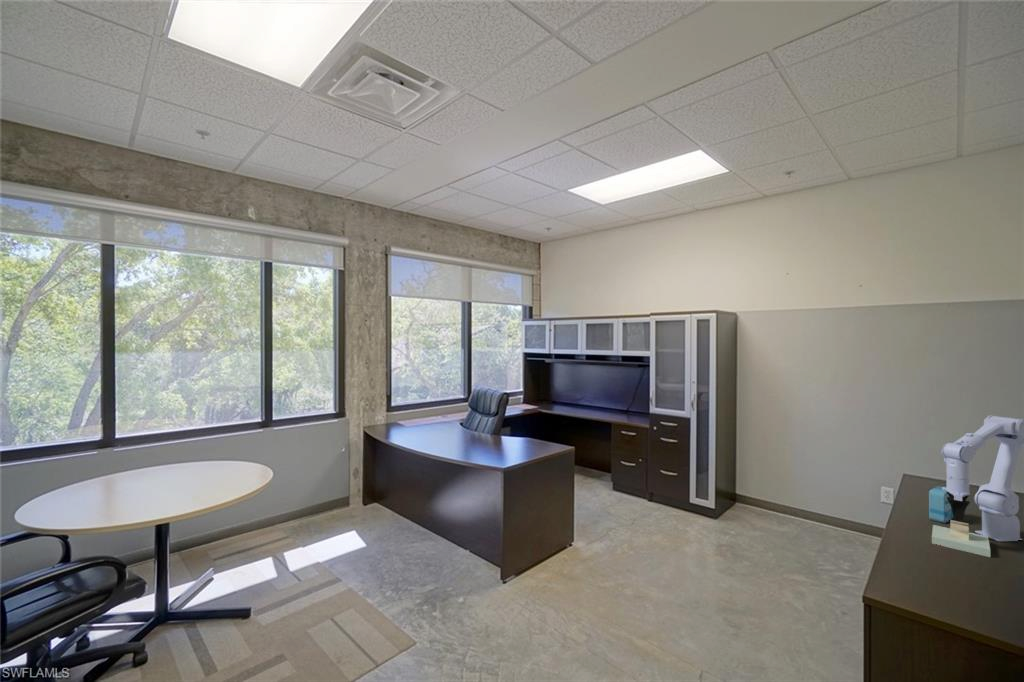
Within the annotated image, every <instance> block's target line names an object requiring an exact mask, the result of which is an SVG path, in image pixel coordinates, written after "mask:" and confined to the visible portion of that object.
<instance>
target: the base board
mask: <svg viewBox="0 0 1024 682" xmlns="http://www.w3.org/2000/svg"><path fill="white" fill-rule="evenodd" d="M989 540H990V538H989V537H988V536H984V535H981V534H978V533H975V532H974V533H973V532H969V540H964V539H960V538H955V537H951V536H950V527H945V526H940V525H935V524H933V525H932V533H931V544H933V545H936V544H937V546H940V545H941V547H945V548H950V549H953V550H958V551H961V552H966V553H970V554H975V555H979V556H983V557H988V558H991V546H990V541H989Z"/></svg>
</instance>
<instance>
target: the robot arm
mask: <svg viewBox="0 0 1024 682" xmlns="http://www.w3.org/2000/svg"><path fill="white" fill-rule="evenodd" d="M992 438H993V439H995V440H996V441H999V443H1000V445H999V449H998V452H997V455H996V459H995V461H994V466H993V468H992V469H993V470H992V472H991V473H992V474H991V477H990V480H989V483H986V484H981V485H980V486H979V488H978V491H977V492H976V493H975V495H974V496H973V498H974V499H973V500H974V503H975V504H976V506H978V509H979V510H981V530H974V533H975V534H979V535H984V536H988V539H992V540H995V541H997V542H1019V541H1018V540H1023V541H1024V539H1023V538H1021V522H1020V519H1019V517H1017V516H1016V514H1017V513H1019V510H1020V505H1019V501H1020V497H1019V495H1017V493H1015V492H1014V491H1013V490H1012V489H1011V488H1012V484H1013V480H1014V476H1015V473H1016V469H1017V465H1018V462H1019V458H1020V455H1021V451H1022V448H1023V445H1024V418H1023V419H1022V418H1013V417H1005V416H997V415H992V414H990V415H988V416H986V418H984V420H983V425H981V427H980V428H978V429H977V430H976V431H975V432H967V433H965V434H964V435H963V436H961V437H960V438H958V439H957V440H955V441H954V442H948V443H944V444H943V446H942V448H941V451H940V452H941V455H942V457H943V462H944V463H945V472H946V474H945V475H946V476H945V477H946V483H945V484H946V486H941V487H942V490H946V491H947V493H948V495H949V497H947V500H948V502H949V503H950V506H951V508H952V513H953V516H954V518H953V519H958V520H963V519H964V516H965V512H966V510H967V508H968V506H969V505H970V503H971V502H970V500H967V499H968V498H969V497H970V496H969V495H971V491H970V462H972V461H973V459H974V457H975V456H976V454H977V452H978V451H980V450H981V449H982V448H983V447H985V446H986V441H988V440H989V439H992Z"/></svg>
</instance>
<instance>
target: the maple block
mask: <svg viewBox="0 0 1024 682" xmlns="http://www.w3.org/2000/svg"><path fill="white" fill-rule="evenodd" d="M949 524H950V525H949V528H950V536H951V537H955V538H960V539H964V540H969V533H970V530H969V529H970V528H969V527H970V526H969V523H966V522H962V521H957V520H954V519H951V520H950V522H949Z"/></svg>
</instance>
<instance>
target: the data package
mask: <svg viewBox="0 0 1024 682" xmlns="http://www.w3.org/2000/svg"><path fill="white" fill-rule="evenodd" d="M942 487H943V486H936V487H934V488H932V489H930V490H929V492H928V503H929V504H928V515H929V516H928V518H929V520H930V521H934V522H937V521H938V522H939V523H941V522H942V523H943V524H946V522H947V523H948V522H949V520H953V519H955V518H954V516H953V513H952V508H951V506H950V503H949V502H948V500H947V497H949V495H948V493H947V491H946V490H942ZM952 518H953V519H952Z"/></svg>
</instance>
